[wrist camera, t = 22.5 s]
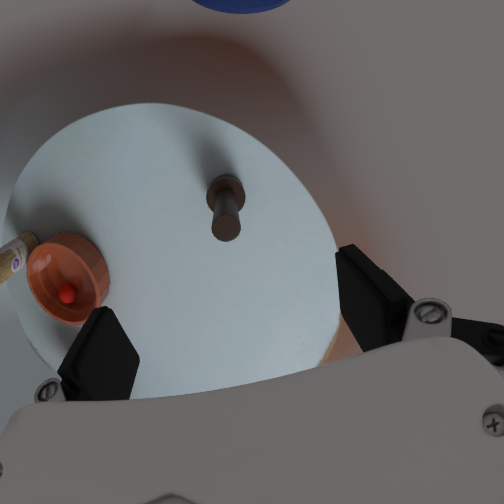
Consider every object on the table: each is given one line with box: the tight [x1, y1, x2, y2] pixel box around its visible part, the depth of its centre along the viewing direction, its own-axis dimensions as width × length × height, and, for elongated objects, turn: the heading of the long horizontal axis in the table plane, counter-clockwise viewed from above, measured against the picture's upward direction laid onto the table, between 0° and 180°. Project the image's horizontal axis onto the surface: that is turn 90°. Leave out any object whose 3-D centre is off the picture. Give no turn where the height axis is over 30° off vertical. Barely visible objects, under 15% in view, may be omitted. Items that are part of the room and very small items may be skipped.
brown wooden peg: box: [206, 174, 245, 242], centre depth 28 cm, size 4×4×15 cm
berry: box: [59, 284, 76, 303], centre depth 36 cm, size 3×3×3 cm
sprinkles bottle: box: [0, 231, 39, 285], centre depth 28 cm, size 5×5×13 cm
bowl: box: [27, 232, 110, 325], centre depth 35 cm, size 13×13×5 cm
